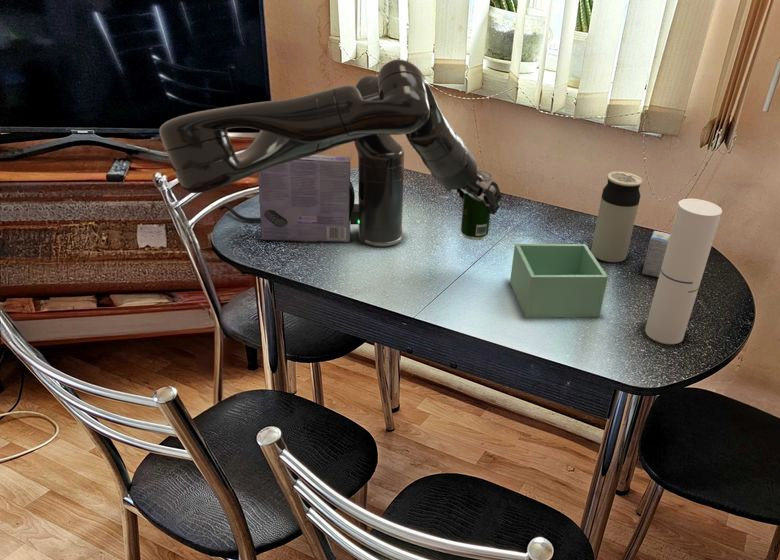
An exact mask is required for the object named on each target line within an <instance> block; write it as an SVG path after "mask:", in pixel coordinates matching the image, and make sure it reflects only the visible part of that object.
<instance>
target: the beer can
mask: <svg viewBox="0 0 780 560" xmlns="http://www.w3.org/2000/svg"><path fill="white" fill-rule="evenodd" d="M477 173H478V174H479V175H480V177H481V178H482V179H483V181H484V182H485V183H486V184H489V185H490V184H491V182H495V181H494V179H493V178H494V175H493V174H492V173H490V172H489V171H485V170H477ZM479 190H480V189H479ZM478 192H479V191H478ZM478 192H477V193H478ZM477 193H476V195H477ZM484 199H486V196H484ZM490 220H491V214H490V213H489V211H488V210H487V209H486V207H485V206H484V204H483V203H481V202H480V201H475V200H474V199H473V198H472V197H471V196H470V195H468V194H467V193H464V196H463V201H462V210H461V222H460V223H461V224H460V232H461V236H462V237H463V238H465V239H467V240H470V241H482V240H484V239H486V238H487V237H488V235H489V232H490V231H489V230H490V223H491V222H490Z"/></svg>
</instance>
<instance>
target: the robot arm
mask: <svg viewBox="0 0 780 560" xmlns="http://www.w3.org/2000/svg"><path fill="white" fill-rule="evenodd" d="M236 128H246V129H255V130H259V132H258V133H257V135H256V137H255V138H254V139H253V141H252V142H251V143H250V144H249V145H248V147H247V148H246V149H244V150H243V151H242V152H241V153H240V154H238V155H237V154H236V152H235V148H234V146H233V143H232V141H231V139H230V135H229V132H228V130H229V129H236ZM158 132H159V136H160V139H161V142H162V145H163V147H164V150H165V152H166V155H167V157H168V159H169V162H170V164H171V167H172V169H173V171H174V175H175V177H176V179H177V181H178V183H179V185H180V187H181V188H182V189H183V191H185V192H187V193H190V194H203V193H207V192H212V191H215V190H218V189H220V188H223V187H226V186H228V185H231V184H233V183H236V182H239V181H240V180H243V179H246V178H249V177H251V176H253V175H255V174H258V172H260V171H263V170H265V169H268V168H271V167H274V166H277V165H280V164H283V163H287V162H290V161H294V160H298V159H301V158H305V157H308V156H312V155H319V154H322V153H323V152H326V151H328V150H331V149H334V148H338V147H341V146H344V145H347V144H350V143H353V142H354V146H355V149H356V151H357V160H358V161H357V163H358V164H357V166H358V171H357V172H358V173H357V174H358V191H357V199H358V200H357V202H358V203H354V209H353V212H352V215H351V217H350V226H351V225H355V226H356V225H358V240H359V244H365V245H368V246H373V247H391V246H395V245H398V244H399V243H401V242H402V240H403V211H404V209H403V205H404V177H405V176H404V174H405V173H404V171H405V150H404V148H403V146H402V145H401V144H400V143H399V141H397V140H396V139H395V138H394V137H393V136H399V135H400V136H401V135H403V136H404V135H405V138H407V141H408V143H409V144H410V146H411V147H412V148H413V149H414V150H415V152H416V153H417V154H418V156H419V157H420V159H421V161H422V162H423V164H424V166H425V167H426V168H427V169H428V170H429V172H430V175H431V176H432V177H433V178H434V179H435V180H436V181H437V182H438V183H439V185H441V186H442V188H444V189H445V190H446V191H447V192H453V194H454V195H455V196H457V197H459V198H460V200H461V201H462V202H463V196H464V193H467V194H468V195H470V196H471V197H472V198H473V199H474V200H475V201H480V202H481V203H483V204H484V206H485V207H486V209H487V210H488V211H489V213H490V215H493V216H494V215H496V214H497V212H498V210H499V208H500V205H499V203H500V201H501V199H502V198H503V196H502V193H501V190H500V187H499V185H498V184H497V182H495V181H494V182H491V184H490V185H489V184H486V183H485V182H484V181H483V179H482V178H481V177H480V175H479V174H478V173H477V171H478V164H477V161H476V157H475V156H474V154H473V153H472V151H470V148H469V147H468V146H467V144H466V143H465V141H464V140H463V138H462V137H461V135H460V134H459V133H458V132H457V131H456V130H455V129H454V128H453V126H452V124H451V123H450V121H449V120H448V118H447V117H446V116H445V115H444V114H443V112H442V110H441V109H440V107H439V103H438V102H437V99H436V98H435V95H434V93H433V91H432V89H431V87H430V85H429V82H428V80H427V78H426V77H425V75H424V74H423V72H422V71H421V70H420V68H419V67H418V66H416V65H415V64H414V63H412V62H410V61H407V60H404V59H393V60H390V61H388V62H386V63H385V64H384V65H383V66H382V67H381V68H380V69H379V72H378V73H377V75H375V74H367V75H364V76H362V77H361V78H360V79H359V80H358V81H357V83H356V85H355V86H354V85H351V84H346V85H342V86H336V87H332V88H329V89H325V90H320V91H317V92H313V93H310V94H305V95H300V96H296V97H291V98H284V99H276V100H266V101H259V102H251V103H244V104H236V105H231V106H224V107H216V108H212V109H205V110H200V111H194V112H190V113H187V114H182V115H180V116H179V115H178V116H176V117H173V118H171V119H169V120H167V121H165V122H164V123H162V124H161V126H160V127H159V131H158ZM479 189H480V190H479ZM478 191H479V192H478ZM477 192H478V193H477ZM476 193H477V195H476ZM484 196H486V199H484ZM224 209H227V210H228V211H229V212H230V213H231V214H232V215H234V216H235V218H238V219H239V220H241V221H246V222H261V218H260V217H246V216H243V215H241V214H240V213H238V212H237V211H236V210H235V209H234V208H233V207H231V206H230V205H228V204H222V205H221V206H219V208H218V210H219V211H222V210H224Z"/></svg>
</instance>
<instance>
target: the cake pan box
mask: <svg viewBox="0 0 780 560" xmlns="http://www.w3.org/2000/svg"><path fill="white" fill-rule="evenodd" d="M257 180H258V181H257V182H258V201H259V214H260V215H259V216H260V217H259V218H261V221H260V235H261V236H260V237H261V239H262V241H290V242H291V241H292V242H307V243H308V242H310V243H311V242H312V243H313V242H314V243H316V242H317V243H318V242H343V243H350V242H351V224H350V217H351V215H352V212H353V209H354V204H355V200H356V199H355V198H356V195H355V194H356V193H355V188H354V186H353V183H352V181H351V157H350V156H347V155H345V156H343V155H327V154H326V155H325V154H315V155H312V156H308V157H305V158H301V159H298V160H294V161H290V162H287V163H283V164H280V165H277V166H274V167H271V168H268V169H265V170H263V171H260V172H258V173H257Z"/></svg>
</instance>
